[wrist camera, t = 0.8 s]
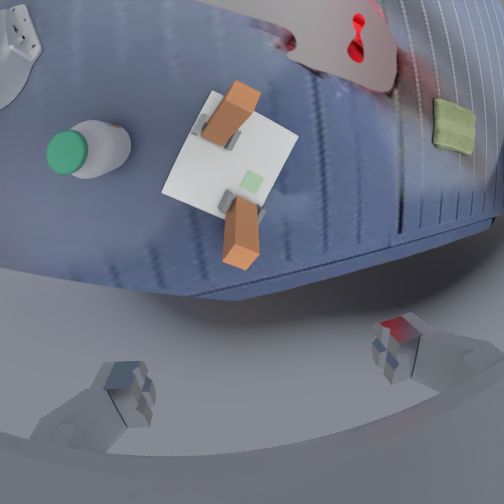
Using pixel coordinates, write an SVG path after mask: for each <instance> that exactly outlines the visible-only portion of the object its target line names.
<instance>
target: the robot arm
mask: <svg viewBox="0 0 504 504" xmlns="http://www.w3.org/2000/svg"><path fill="white" fill-rule="evenodd" d="M14 10H15V11H14ZM13 11H14V12H13ZM35 45H36V46H35ZM34 46H35V47H34ZM33 47H34V48H33ZM42 49H43V48H42V45H41V42H40V40H39V37H38V35H37V32H36V30H35V27H34V24H33V22H32V19H31V16H30V13H29V10H28V8H27V6H26V5H25V4H21V5H17V6H14V7H12V8H10V9H3V10H0V109H2V108H4V107H5V106H7V105H8V104H10V103H11V102H12V101H13V100H14V99H15V98H16V97H17V95H18V94H19V93H20V91H21V90H22V88H23V87H24V85H25V83H26V81H27V79H28V76H29V74H30V71H31V68H32V66H33V64H34V62H35V61H36V60H37V58H38V57H39V56H40V54H41V52H42ZM373 334H374V335H375V336H376V339H375V340H374V342H373V343H372V355H373V359H374V362H375V363H376V365H377V366H378V367H380V368H382V369H384V375H385V377H386V378H387V379H388V381H389V382H390V383H391V385H393V384H396V383H399V382H402V381H405V380H408V379H410V378H412V380H414V381H417V382H419V383H421V384H423V385H425V386H427V387H429V388H431V389H433V390H436V391H438V392H440V394H438V395H436V396H434V397H432V398H430V399H428V400H425V401H423V402H421V403H419V404H416V405H414V406H412V407H410V408H407V409H405V410H402V411H400V412H397V413H395V414H392V415H390V416H387V417H384V418H382V419H378V420H375V421H373V422H370V423H367V424H364V425H361V426H357V427H354V428H351V429H348V430H344V431H341V432H337V433H334V434H330V435H326V436H322V437H319V438H314V439H310V440H306V441H301V442H297V443H292V444H287V445H282V446H276V447H271V448H264V449H258V450H251V451H243V452H235V453H226V454H213V455H199V456H135V455H120V454H119V455H118V454H109V453H105V452H106V451H107V450H108V449H109V448H110V447H111V446H112V445H113V444H114V443H115V441H117V440H118V438H119V437H120V436H121V435H122V434H123V433H124V432H125V431H126V430H127V428H129V427H130V428H137V427H139V428H141V427H150V424H151V419H152V415H153V414H152V411H151V408H152V407H153V406H154V405H155V400H156V394H155V388H154V384H153V382H152V380H151V379H150V378H148V377H147V372H148V369H147V367H146V364H145V363H144V362H143V361H126V362H125V361H124V362H105V363H103V364H102V366H101V368H100V370H99V372H98V373H97V375H96V377H95V379H94V382H93V383H92V385H91V387H90V389H85V390H84V391H82V392H81V393H79V394H78V395H76V396H75V397H73V398H72V399H70V400H69V401H67V402H66V403H64V404H63V405H61V406H60V407H58V408H56V409H55V410H53V411H52V412H50V413H49V414H47V415H46V416H44V417H43V418H41V419H40V420H39V422H38V424H37V426H36V428H35V430H34V431H33V433H32V435H31V437H30V439H25V438H22V437H18V436H15V435H12V434H8V433H5V432H2V431H0V504H504V353H503V352H502V351H500V350H499V349H498V348H497V347H495V346H494V345H493V344H491V343H490V342H488V341H483V340H478V339H473V338H469V337H465V336H460V335H456V334H452V333H447V332H443V331H439V330H437V331H434V330H432V329H431V328H430V327H429V326H428V325H426V324H425V323H424V322H423V321H422V320H420V319H419V318H418V317H417V316H415V315H414V314H413V313H407V314H404V315H401V316H398V317H395V318H392V319H389V320H385V321H382V322H378V323H376V324H375V326H374V331H373Z"/></svg>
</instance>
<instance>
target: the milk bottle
mask: <svg viewBox="0 0 504 504" xmlns="http://www.w3.org/2000/svg"><path fill="white" fill-rule="evenodd" d="M130 151H131V140H130V137H129V135H128V133H127V131H126V130H125V129H124V128H122V127H121V126H119V125H116V124H113V123H108V122H104V121H98V120H89V121H84V122H81V123H79V124H77V125H75V126H74V127H73V128H71V129H70V130H64V131H61V132H59V133H58V134H56V135H55V136H54V137H53V138H52V139H51V141H50V142H49V145H48V147H47V153H46V157H47V162H48V165H49V166H50V168H51V169H52V170H53V171H54V172H56V173H58V174H60V175H68V174H72V175H73V176H76V177H78V178H83V179H89V178H95V177H98V176H101V175H103V174H106V173H108V172H110V171H112V170H115V169H117V168H118V167H120V166H121V165H122V164H123V163H124V162H125V161H126V160H127V158H128V156H129V154H130Z"/></svg>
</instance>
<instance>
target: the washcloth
mask: <svg viewBox="0 0 504 504" xmlns="http://www.w3.org/2000/svg"><path fill="white" fill-rule="evenodd" d="M433 117H434V119H435V120H434V129H433V132H434V134H433V144H434V145H436V147H437V148H438V149H445V150H446V149H448V150H454V151H459V152H461V153H463V154H466V155H471V154H472V151H473V143H474V137H475V127H474V124H475V119H476V117H475V115H474V112H472V111H470V110H469V109H468V108H466V107H463V106H460V105H457V104H456V103H453V102H451V101H449V100H444V99H440V98H438V99H437V98H435V99H434V116H433Z"/></svg>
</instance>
